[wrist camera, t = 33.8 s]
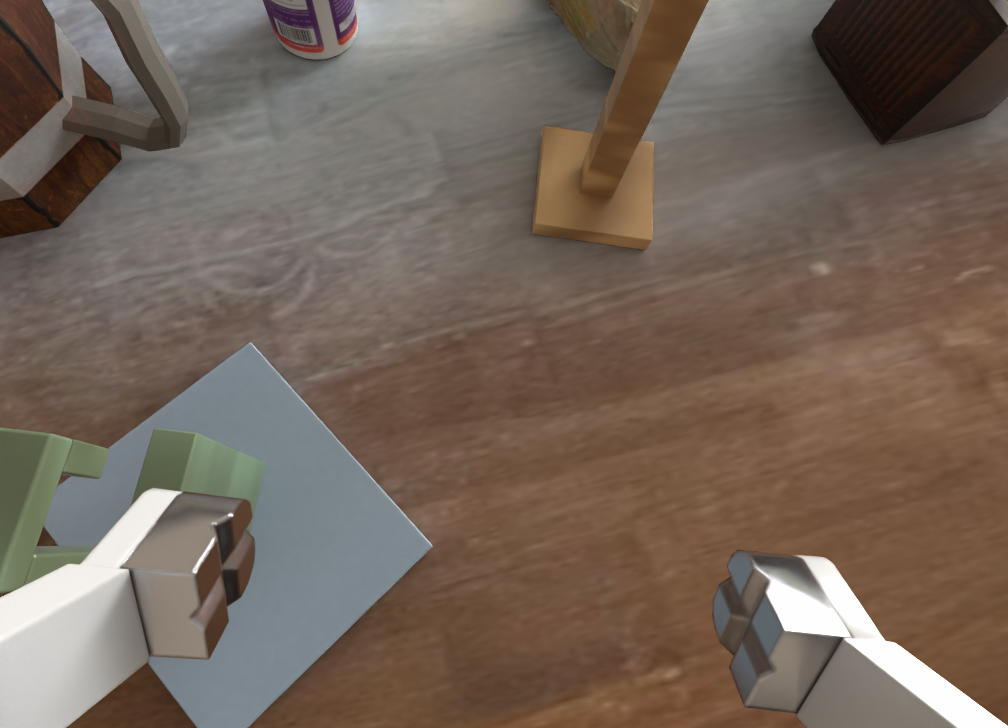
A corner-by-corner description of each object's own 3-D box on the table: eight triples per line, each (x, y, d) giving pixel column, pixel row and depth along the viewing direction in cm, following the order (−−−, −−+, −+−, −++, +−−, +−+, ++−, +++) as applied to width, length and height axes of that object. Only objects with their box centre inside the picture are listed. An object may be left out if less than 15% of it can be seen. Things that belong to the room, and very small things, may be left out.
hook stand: (531, 233, 34) (674, -273, 13) (541, 137, 36) (677, -430, 15) (888, 285, 35) (1545, -92, 14) (877, 190, 37) (1431, -260, 16)
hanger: (235, 595, 25) (-30, 665, 11) (201, 592, 25) (-111, 658, 11) (266, 462, 27) (72, 377, 13) (235, 459, 27) (5, 369, 13)
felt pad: (433, 545, 28) (432, 546, 27) (226, 748, 24) (217, 756, 23) (255, 347, 30) (249, 341, 29) (42, 508, 26) (27, 507, 25)
